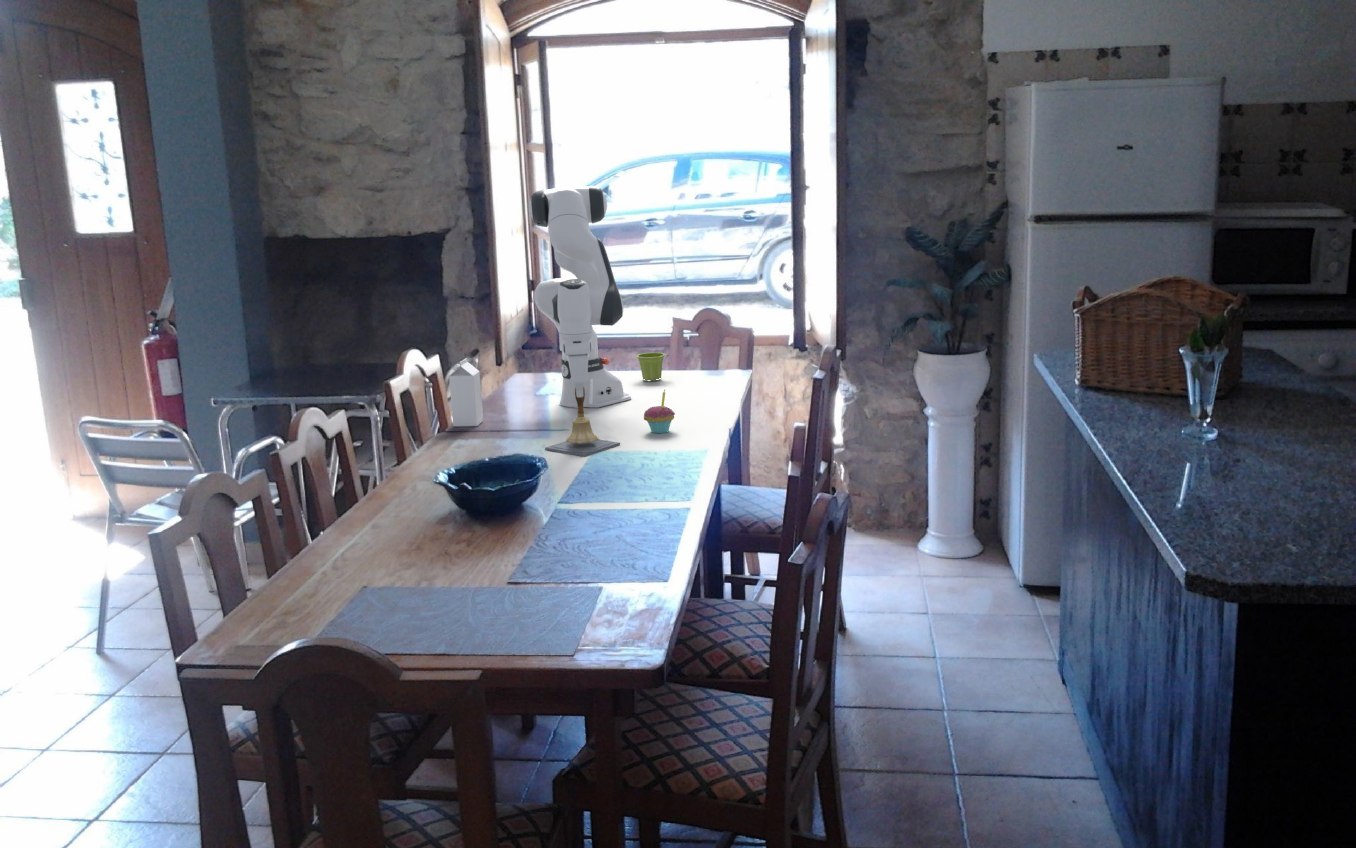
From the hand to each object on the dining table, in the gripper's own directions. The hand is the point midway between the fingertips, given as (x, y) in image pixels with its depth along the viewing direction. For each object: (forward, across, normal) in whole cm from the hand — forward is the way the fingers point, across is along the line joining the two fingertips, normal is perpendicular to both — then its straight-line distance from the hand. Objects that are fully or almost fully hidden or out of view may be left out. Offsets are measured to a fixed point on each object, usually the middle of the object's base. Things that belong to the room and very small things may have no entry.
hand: (579, 395), depth 304 cm
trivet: (+14, 0, 0) cm, 14 cm away
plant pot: (+14, -88, +26) cm, 93 cm away
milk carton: (+14, -37, -32) cm, 51 cm away
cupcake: (+14, -12, +22) cm, 29 cm away
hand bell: (+12, 0, 0) cm, 12 cm away
